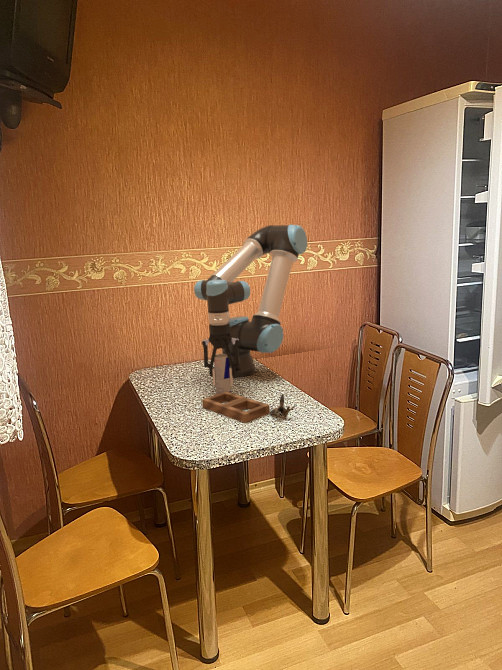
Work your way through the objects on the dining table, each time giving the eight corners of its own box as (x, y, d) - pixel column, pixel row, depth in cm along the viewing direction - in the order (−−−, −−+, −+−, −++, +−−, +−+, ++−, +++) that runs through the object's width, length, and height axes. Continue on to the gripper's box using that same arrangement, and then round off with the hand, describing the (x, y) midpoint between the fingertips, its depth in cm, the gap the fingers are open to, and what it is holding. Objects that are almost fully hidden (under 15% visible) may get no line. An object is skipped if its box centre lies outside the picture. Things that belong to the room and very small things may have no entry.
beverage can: (229, 396, 203) (227, 357, 199) (214, 396, 204) (212, 357, 201) (233, 391, 208) (230, 353, 205) (218, 391, 209) (216, 353, 206)
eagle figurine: (300, 413, 181) (288, 400, 188) (291, 399, 177) (278, 386, 184) (282, 428, 180) (270, 414, 187) (272, 414, 176) (260, 401, 184)
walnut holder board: (202, 407, 193) (202, 399, 193) (226, 399, 201) (226, 391, 200) (245, 423, 177) (245, 414, 177) (269, 413, 185) (269, 404, 184)
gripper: (192, 326, 197) (197, 388, 202) (244, 324, 196) (247, 386, 201) (195, 322, 204) (199, 382, 209) (245, 319, 203) (248, 380, 209)
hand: (223, 384), depth 205 cm, fingers closed on beverage can, 5 cm apart
